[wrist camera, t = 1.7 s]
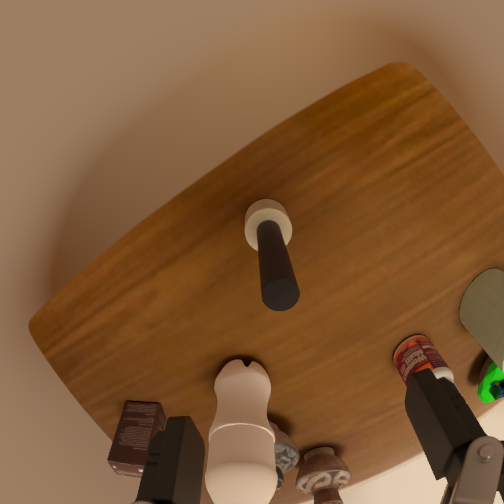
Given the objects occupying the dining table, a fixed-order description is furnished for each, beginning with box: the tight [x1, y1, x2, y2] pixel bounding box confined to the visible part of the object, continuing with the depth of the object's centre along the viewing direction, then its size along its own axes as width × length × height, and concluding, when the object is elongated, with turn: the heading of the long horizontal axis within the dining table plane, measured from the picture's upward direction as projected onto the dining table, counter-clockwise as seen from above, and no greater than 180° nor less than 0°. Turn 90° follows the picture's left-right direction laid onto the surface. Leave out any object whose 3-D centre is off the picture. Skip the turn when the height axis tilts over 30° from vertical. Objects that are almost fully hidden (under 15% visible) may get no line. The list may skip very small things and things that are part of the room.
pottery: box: [268, 421, 352, 504], centre depth 42 cm, size 11×25×12 cm, turn 50°
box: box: [107, 401, 166, 478], centre depth 39 cm, size 6×4×12 cm
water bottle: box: [205, 359, 278, 504], centre depth 29 cm, size 7×7×25 cm
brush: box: [245, 199, 300, 311], centre depth 26 cm, size 4×4×16 cm
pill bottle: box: [394, 335, 460, 392], centre depth 35 cm, size 6×6×11 cm
